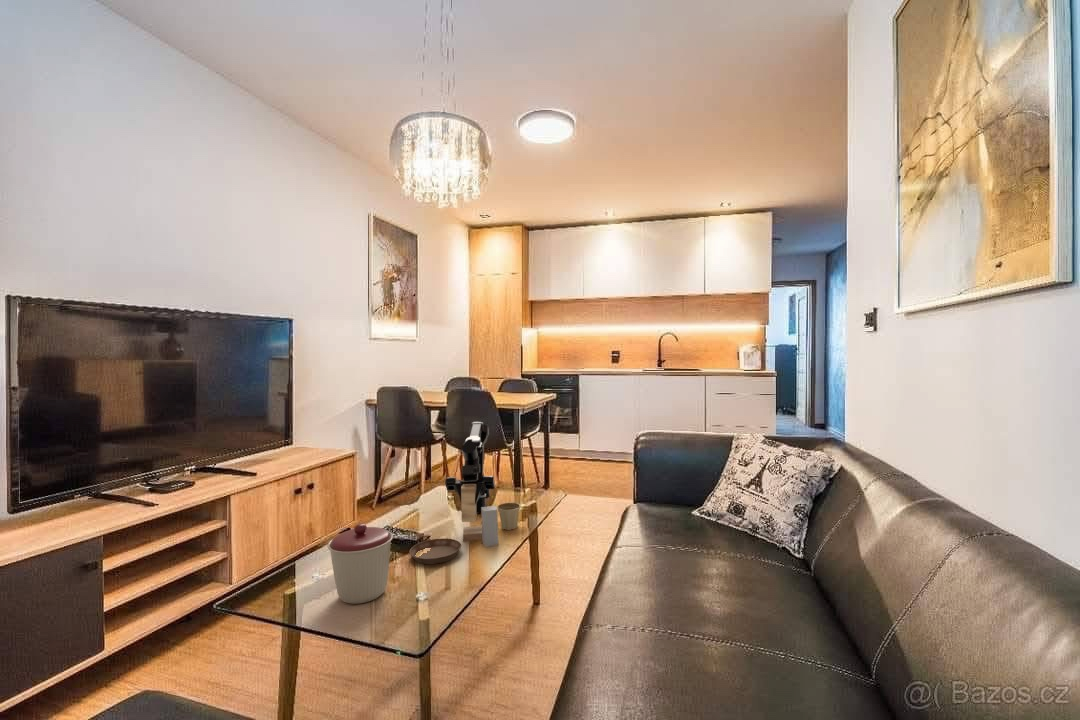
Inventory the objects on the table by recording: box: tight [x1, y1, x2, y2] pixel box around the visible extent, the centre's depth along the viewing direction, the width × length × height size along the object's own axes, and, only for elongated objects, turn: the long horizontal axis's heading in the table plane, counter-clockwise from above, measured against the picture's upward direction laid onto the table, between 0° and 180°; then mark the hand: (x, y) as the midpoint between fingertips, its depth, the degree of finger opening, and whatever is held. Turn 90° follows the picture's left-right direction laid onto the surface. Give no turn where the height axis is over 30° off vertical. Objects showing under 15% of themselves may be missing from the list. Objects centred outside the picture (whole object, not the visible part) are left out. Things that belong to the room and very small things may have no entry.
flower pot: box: [496, 502, 521, 531], centre depth 197 cm, size 9×9×9 cm
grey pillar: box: [480, 505, 499, 548], centre depth 181 cm, size 5×5×13 cm
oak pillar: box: [460, 484, 478, 523], centre depth 188 cm, size 5×5×13 cm
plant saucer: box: [409, 537, 462, 565], centre depth 172 cm, size 18×18×3 cm
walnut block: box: [462, 525, 482, 542], centre depth 188 cm, size 8×8×3 cm
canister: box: [327, 523, 394, 605], centre depth 144 cm, size 18×18×21 cm
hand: (468, 503), depth 186 cm, fingers closed on oak pillar, 5 cm apart
